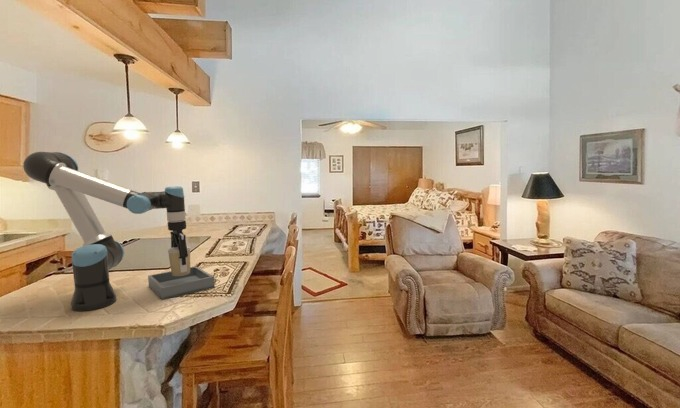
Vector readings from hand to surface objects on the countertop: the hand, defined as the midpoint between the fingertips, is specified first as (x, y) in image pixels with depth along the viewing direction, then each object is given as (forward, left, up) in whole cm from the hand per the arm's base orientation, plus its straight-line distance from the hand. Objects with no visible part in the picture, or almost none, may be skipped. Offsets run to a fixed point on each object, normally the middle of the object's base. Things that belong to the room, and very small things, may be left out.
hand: (180, 269), depth 165 cm
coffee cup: (0, 0, -2) cm, 2 cm away
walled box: (0, 0, -8) cm, 8 cm away
